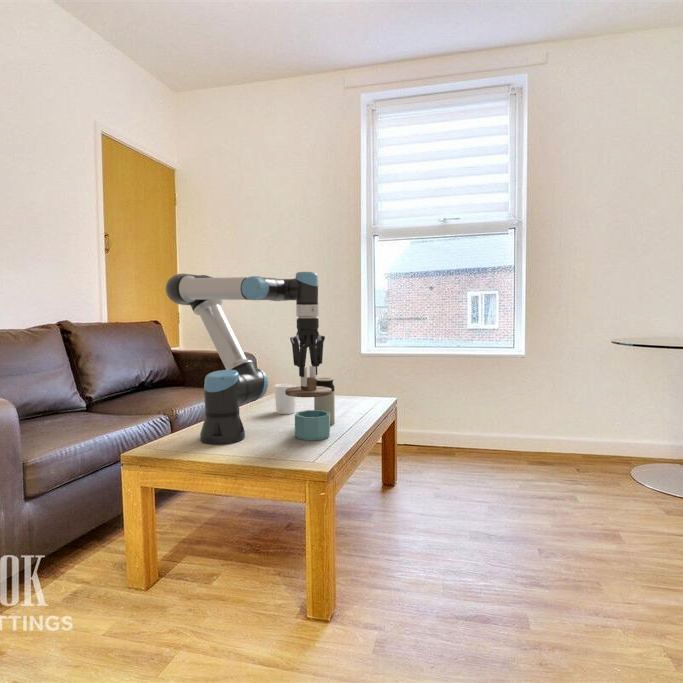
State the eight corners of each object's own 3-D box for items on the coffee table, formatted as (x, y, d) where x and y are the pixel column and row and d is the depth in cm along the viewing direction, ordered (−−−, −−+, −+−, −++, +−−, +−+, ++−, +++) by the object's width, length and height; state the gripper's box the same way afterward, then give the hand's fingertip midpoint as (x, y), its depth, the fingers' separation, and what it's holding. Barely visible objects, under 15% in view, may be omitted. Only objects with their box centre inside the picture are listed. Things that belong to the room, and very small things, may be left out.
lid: (276, 392, 164) (276, 378, 163) (313, 387, 174) (313, 373, 173) (303, 399, 151) (302, 383, 151) (341, 393, 162) (341, 378, 161)
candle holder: (298, 409, 211) (298, 383, 210) (295, 414, 201) (295, 387, 200) (276, 409, 211) (276, 383, 210) (272, 414, 201) (272, 386, 201)
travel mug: (334, 426, 182) (334, 379, 180) (313, 426, 182) (313, 379, 181) (334, 421, 190) (334, 376, 188) (315, 421, 190) (314, 376, 189)
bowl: (289, 435, 168) (288, 413, 167) (315, 429, 176) (314, 408, 175) (310, 442, 159) (310, 419, 158) (336, 436, 167) (336, 414, 167)
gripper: (294, 317, 153) (295, 389, 154) (332, 317, 163) (333, 384, 165) (281, 317, 159) (282, 386, 160) (319, 317, 169) (320, 382, 171)
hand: (308, 385), depth 162 cm, fingers closed on lid, 3 cm apart
